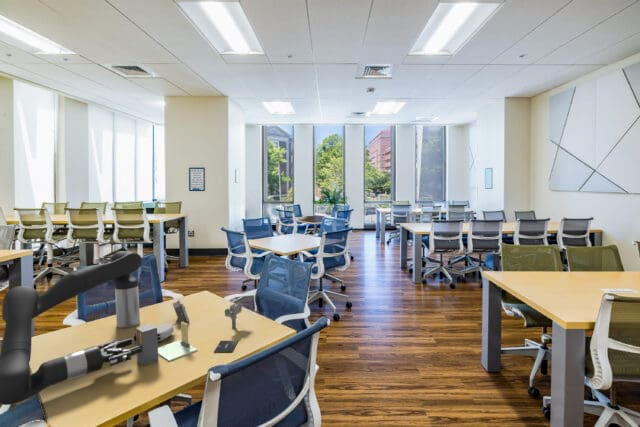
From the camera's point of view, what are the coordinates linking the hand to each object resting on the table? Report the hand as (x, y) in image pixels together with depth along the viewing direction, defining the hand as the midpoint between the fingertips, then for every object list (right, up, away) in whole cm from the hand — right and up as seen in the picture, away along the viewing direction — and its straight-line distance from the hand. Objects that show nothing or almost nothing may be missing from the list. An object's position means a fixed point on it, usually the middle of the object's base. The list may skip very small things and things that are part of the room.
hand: (136, 344), depth 121 cm
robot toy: (-4, -6, +22) cm, 23 cm away
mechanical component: (+26, -5, +31) cm, 41 cm away
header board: (+9, -6, +11) cm, 15 cm away
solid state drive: (+27, -6, +14) cm, 31 cm away
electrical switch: (-1, -5, +42) cm, 42 cm away
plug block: (+2, -7, +3) cm, 8 cm away
